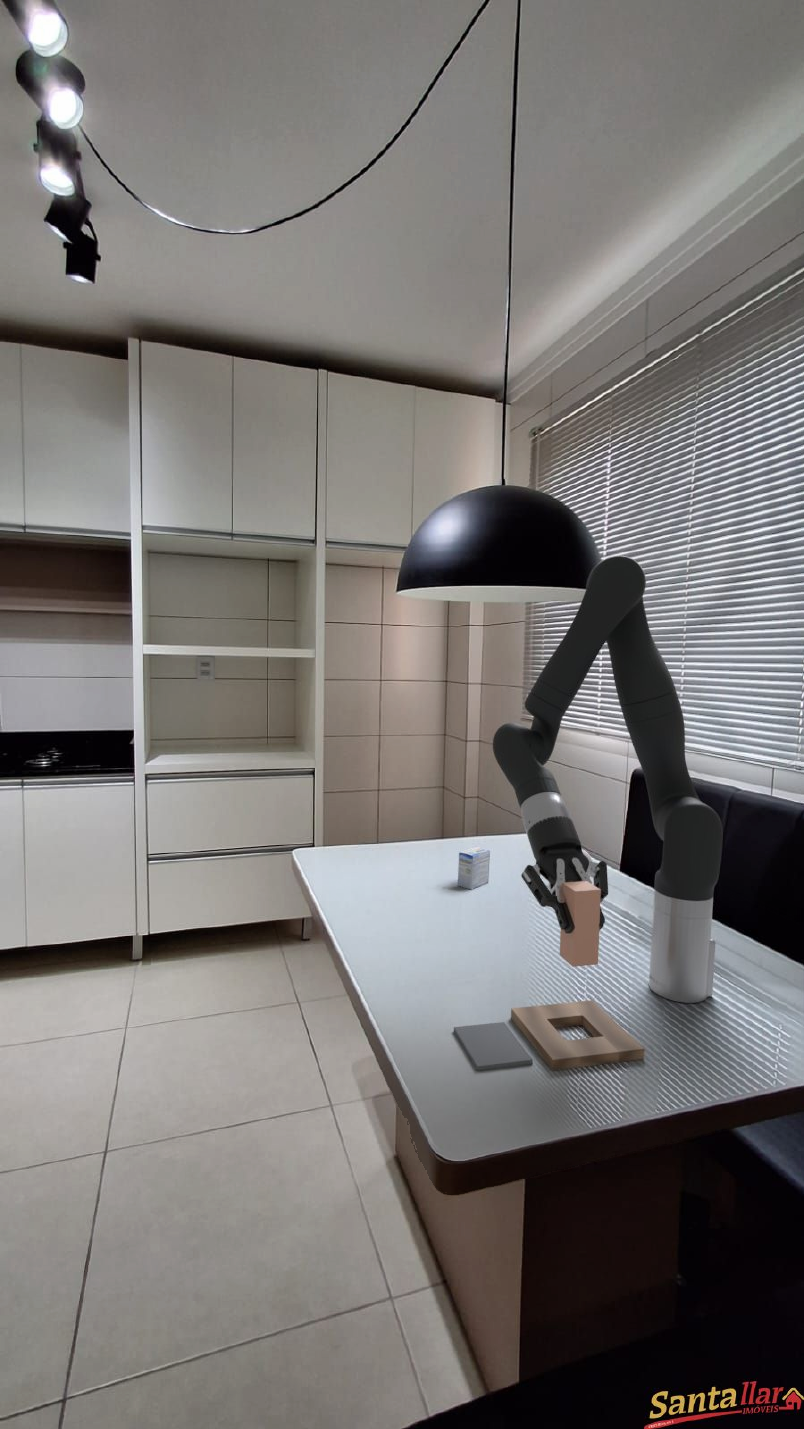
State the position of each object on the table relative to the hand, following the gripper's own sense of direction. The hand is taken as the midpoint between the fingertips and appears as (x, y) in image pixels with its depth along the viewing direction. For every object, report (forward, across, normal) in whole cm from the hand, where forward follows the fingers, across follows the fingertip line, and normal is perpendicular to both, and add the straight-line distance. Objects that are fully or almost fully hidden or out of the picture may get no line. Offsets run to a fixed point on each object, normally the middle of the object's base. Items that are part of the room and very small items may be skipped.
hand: (584, 929), depth 96 cm
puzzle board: (+11, 0, +13) cm, 17 cm away
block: (+3, 0, +5) cm, 5 cm away
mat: (+11, -13, +13) cm, 21 cm away
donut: (-35, +34, +59) cm, 77 cm away
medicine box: (-38, +9, +63) cm, 74 cm away
